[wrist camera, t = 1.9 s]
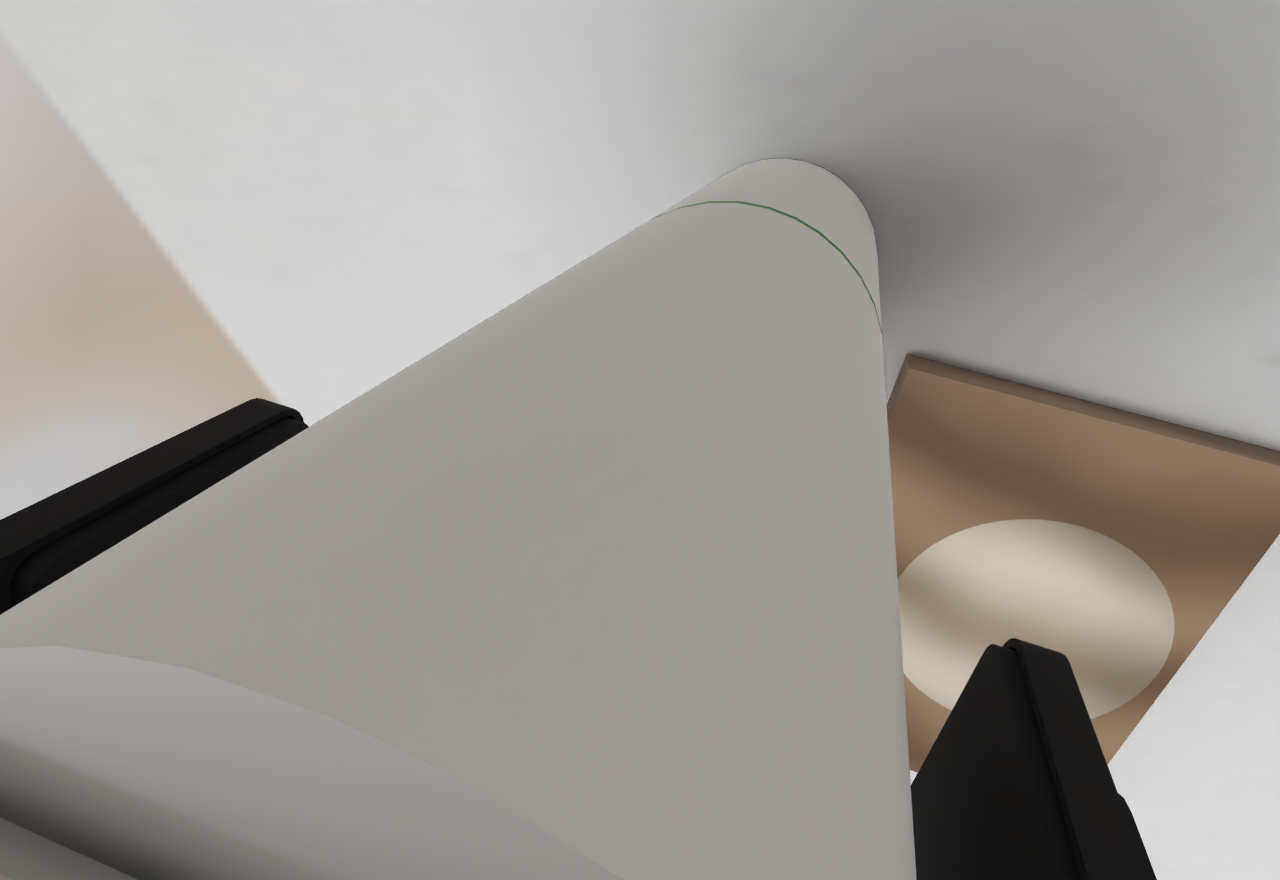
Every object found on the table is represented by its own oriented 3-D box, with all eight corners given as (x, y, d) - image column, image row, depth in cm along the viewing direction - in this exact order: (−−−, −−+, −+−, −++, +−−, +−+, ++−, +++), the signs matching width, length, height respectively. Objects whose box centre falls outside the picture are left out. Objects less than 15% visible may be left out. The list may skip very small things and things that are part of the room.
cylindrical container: (648, 305, 28) (-73, 1025, 7) (728, 121, 25) (-280, 369, 3) (813, 388, 28) (625, 1448, 6) (918, 214, 24) (1354, 1274, 3)
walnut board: (906, 354, 26) (908, 368, 25) (1297, 456, 24) (1322, 477, 23) (775, 697, 35) (771, 721, 34) (1055, 794, 33) (1063, 824, 31)
